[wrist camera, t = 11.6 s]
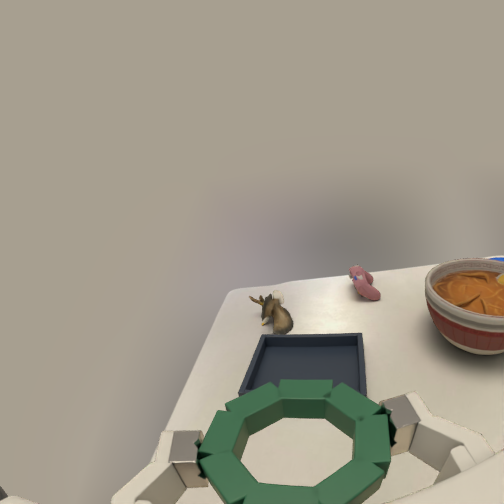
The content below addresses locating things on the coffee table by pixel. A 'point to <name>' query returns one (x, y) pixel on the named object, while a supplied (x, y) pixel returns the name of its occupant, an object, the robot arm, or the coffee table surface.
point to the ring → (297, 406)
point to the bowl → (468, 303)
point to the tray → (307, 360)
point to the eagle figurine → (275, 312)
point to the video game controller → (363, 283)
